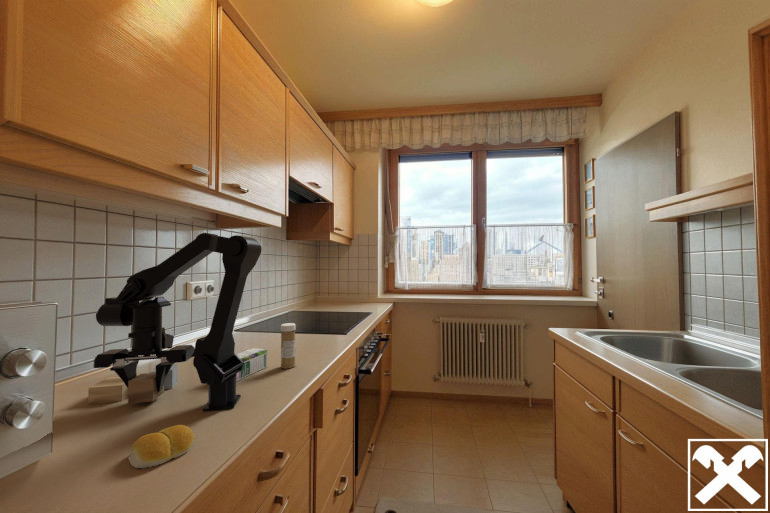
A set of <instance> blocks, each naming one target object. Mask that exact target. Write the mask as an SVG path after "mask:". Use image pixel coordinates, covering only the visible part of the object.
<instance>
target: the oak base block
mask: <svg viewBox="0 0 770 513" xmlns="http://www.w3.org/2000/svg"><path fill="white" fill-rule="evenodd" d="M136 375H137V376H138V375H139V374H136ZM87 392H88V393H87V394H88V395H87V398H88V399H87V400H88V401H87V403H88V404H89V405H90V404H92V405H93V404H102V403H114V402H123V401H124V400H126V399H128V388H127V386H126V385H125V383H124V382H123V380H122V379H121V378H120V377H119V376H108V377H106V378H104V379H103V380H101V381H99V382H97V383H95V384H93V385H91V386H89V387H88V391H87Z"/></svg>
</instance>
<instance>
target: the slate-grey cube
mask: <svg viewBox="0 0 770 513" xmlns="http://www.w3.org/2000/svg"><path fill="white" fill-rule="evenodd" d="M148 373H156V366H155V367H154V368H152V370H150V372H148ZM177 383H178V364H177V363H175V364H173V365H172V367H171V369H170V370H169V372H168V375H167V377H166V380H165V383H164V389H167V390H172V388H173V389H174V387H175V386H176V385H177ZM175 384H176V385H175Z"/></svg>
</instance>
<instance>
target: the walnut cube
mask: <svg viewBox="0 0 770 513" xmlns="http://www.w3.org/2000/svg"><path fill="white" fill-rule="evenodd" d="M137 375H138V376H136V377H135V378H133V379H131V380H130V381H128V397H127V404H137V403H139V404H140V403H149V402H154V401H155V400H157V399H158V398H160V397H161V396H162V395H163V394H164V393H165V390H164V385H163V388H162V390H161V391H160V392H157V387H156V373H149V372H146V373H140V374H137Z"/></svg>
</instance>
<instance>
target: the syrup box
mask: <svg viewBox="0 0 770 513" xmlns="http://www.w3.org/2000/svg"><path fill="white" fill-rule="evenodd" d="M235 354H236V355H237V356H238V357H239V358H240V359H241V360H242V361H243V362H244V365H243V368H242V371H240V372H238V373H236V382H238V381H240V380H242V379H245V378H246V377H248V376H250V375H253V374H256V372H259V371H261V370H263V369H266V368H267V367H268V350H267V349H266V348H265V349H264V348H253V347H252V348H249V349H247V350H244V351H242V352H239V353H238V352H237V353H235ZM221 369H222V368H221Z"/></svg>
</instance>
